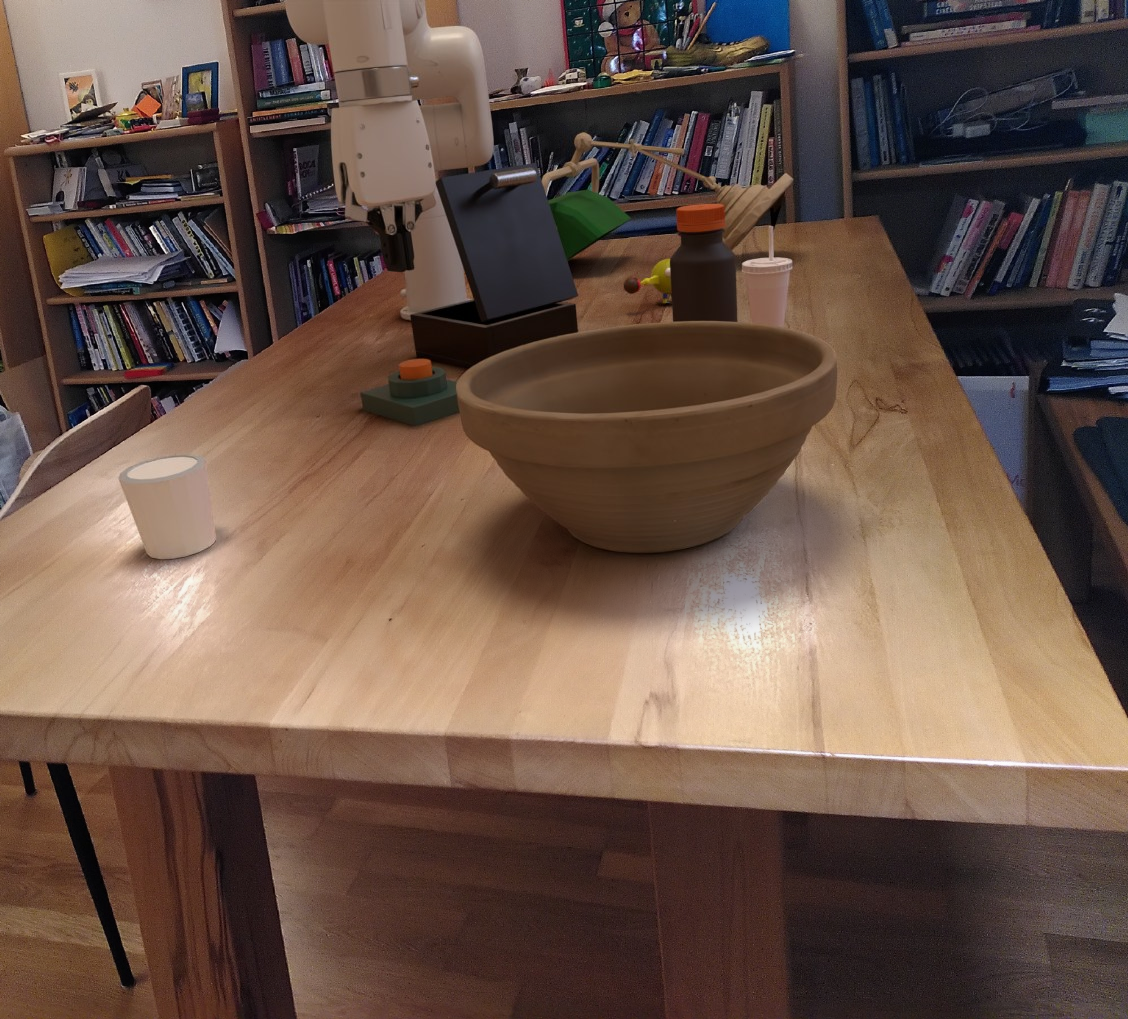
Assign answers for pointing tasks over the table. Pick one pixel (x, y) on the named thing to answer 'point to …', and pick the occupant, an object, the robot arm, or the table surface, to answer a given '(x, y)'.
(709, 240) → the bottle
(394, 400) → the button block
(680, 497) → the brown mixing bowl
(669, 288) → the toy figure
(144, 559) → the table surface
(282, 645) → the table surface
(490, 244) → the grill lid
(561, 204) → the desk lamp
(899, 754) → the table surface
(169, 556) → the white cylinder
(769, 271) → the smoothie
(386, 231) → the robot arm
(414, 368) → the button
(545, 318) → the dark open lidded box
